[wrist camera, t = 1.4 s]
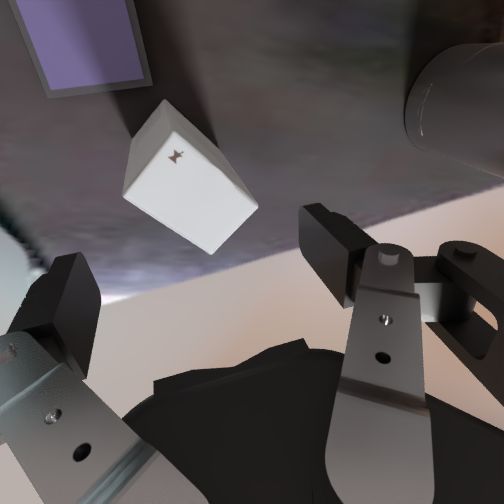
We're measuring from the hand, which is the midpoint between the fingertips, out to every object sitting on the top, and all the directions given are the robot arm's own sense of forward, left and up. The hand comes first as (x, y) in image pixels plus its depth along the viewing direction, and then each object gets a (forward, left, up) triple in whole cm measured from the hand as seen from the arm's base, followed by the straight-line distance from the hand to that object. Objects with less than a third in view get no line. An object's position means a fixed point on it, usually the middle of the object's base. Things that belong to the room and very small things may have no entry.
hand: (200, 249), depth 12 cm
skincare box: (0, 0, -17) cm, 17 cm away
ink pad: (+4, -8, -17) cm, 19 cm away
